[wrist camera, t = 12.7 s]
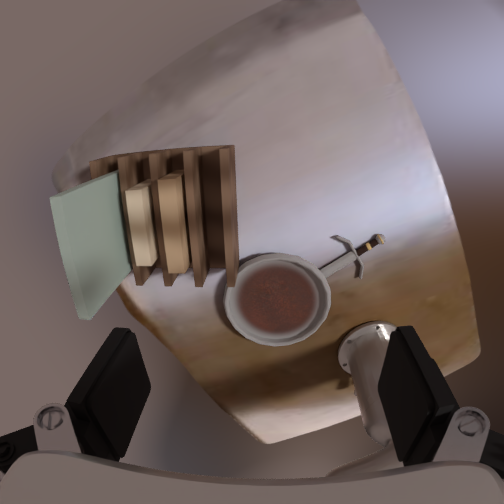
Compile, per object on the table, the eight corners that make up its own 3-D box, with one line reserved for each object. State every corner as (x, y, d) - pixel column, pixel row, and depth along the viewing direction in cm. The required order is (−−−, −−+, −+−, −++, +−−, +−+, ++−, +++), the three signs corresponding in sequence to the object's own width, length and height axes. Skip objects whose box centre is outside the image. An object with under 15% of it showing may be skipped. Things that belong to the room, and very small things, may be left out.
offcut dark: (197, 249, 48) (184, 273, 40) (183, 249, 48) (168, 273, 40) (191, 169, 43) (175, 178, 36) (176, 170, 43) (157, 180, 36)
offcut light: (169, 243, 47) (151, 266, 40) (155, 243, 48) (136, 265, 40) (162, 177, 44) (141, 189, 36) (147, 178, 44) (125, 190, 36)
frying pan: (407, 281, 47) (262, 363, 54) (401, 274, 49) (262, 353, 56) (361, 191, 42) (199, 292, 49) (355, 187, 45) (203, 283, 51)
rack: (239, 265, 49) (234, 287, 43) (127, 264, 50) (110, 284, 44) (234, 145, 42) (227, 148, 36) (112, 155, 44) (89, 161, 37)
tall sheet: (143, 256, 49) (90, 320, 32) (134, 256, 49) (79, 318, 32) (131, 167, 43) (61, 196, 27) (122, 168, 43) (49, 197, 27)
